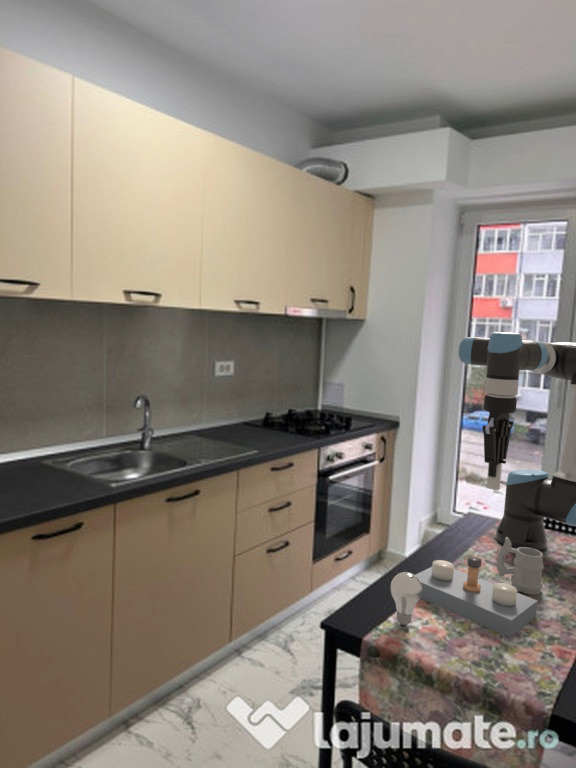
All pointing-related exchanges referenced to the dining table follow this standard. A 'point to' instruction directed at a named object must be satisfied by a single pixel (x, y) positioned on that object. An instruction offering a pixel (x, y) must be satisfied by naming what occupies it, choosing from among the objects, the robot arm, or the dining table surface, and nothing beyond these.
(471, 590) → the ball
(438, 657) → the dining table surface
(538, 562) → the mug
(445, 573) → the knob
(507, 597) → the knob
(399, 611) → the light bulb
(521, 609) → the panel
